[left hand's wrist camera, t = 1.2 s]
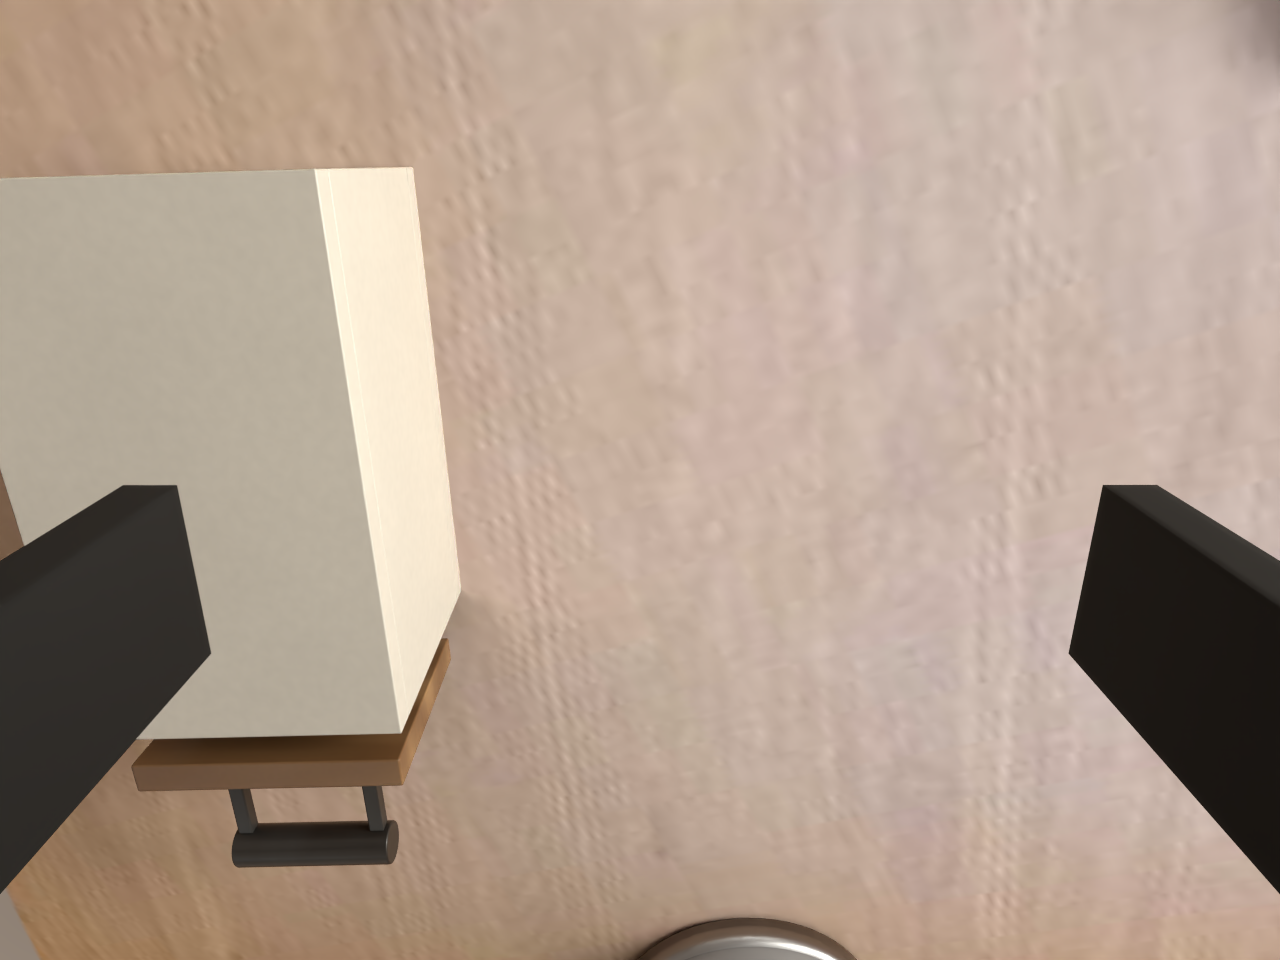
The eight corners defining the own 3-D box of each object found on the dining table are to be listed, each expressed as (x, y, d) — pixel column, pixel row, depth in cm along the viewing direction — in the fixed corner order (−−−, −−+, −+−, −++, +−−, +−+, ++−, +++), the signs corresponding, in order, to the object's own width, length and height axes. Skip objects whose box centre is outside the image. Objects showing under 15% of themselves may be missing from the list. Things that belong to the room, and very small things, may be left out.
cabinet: (461, 590, 40) (401, 734, 30) (223, 596, 40) (84, 741, 30) (413, 166, 33) (315, 168, 23) (127, 175, 33) (-91, 180, 23)
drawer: (464, 763, 42) (421, 907, 34) (262, 768, 42) (172, 911, 34) (405, 285, 34) (331, 324, 26) (155, 292, 34) (3, 333, 26)
